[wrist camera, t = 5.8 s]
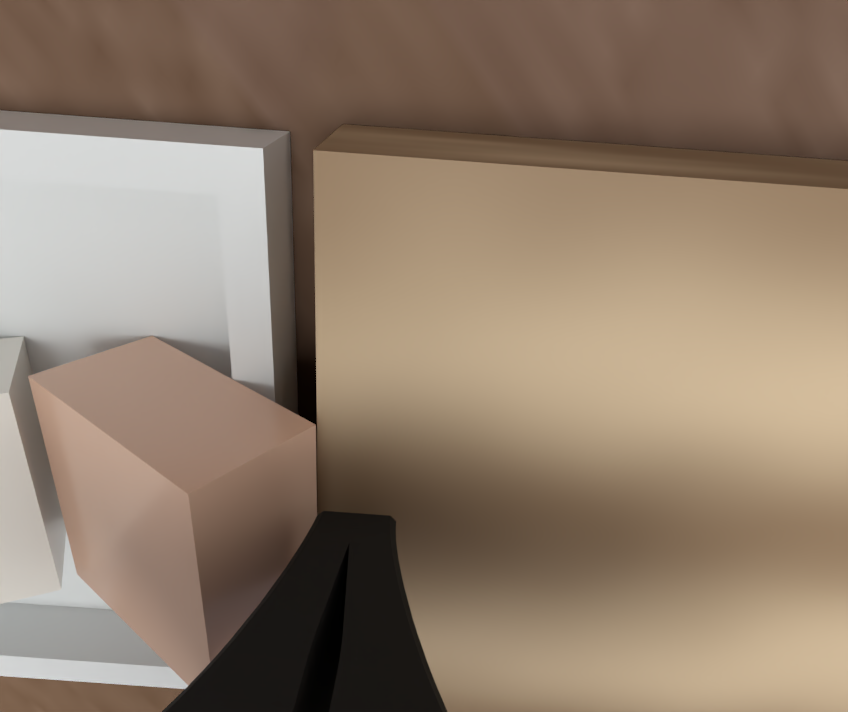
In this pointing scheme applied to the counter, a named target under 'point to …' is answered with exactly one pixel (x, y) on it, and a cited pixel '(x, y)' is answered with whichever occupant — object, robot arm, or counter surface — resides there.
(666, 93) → the counter surface
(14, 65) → the counter surface
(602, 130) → the counter surface
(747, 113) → the counter surface
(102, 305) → the tray
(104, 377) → the terracotta tile
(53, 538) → the cream tile
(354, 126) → the board
